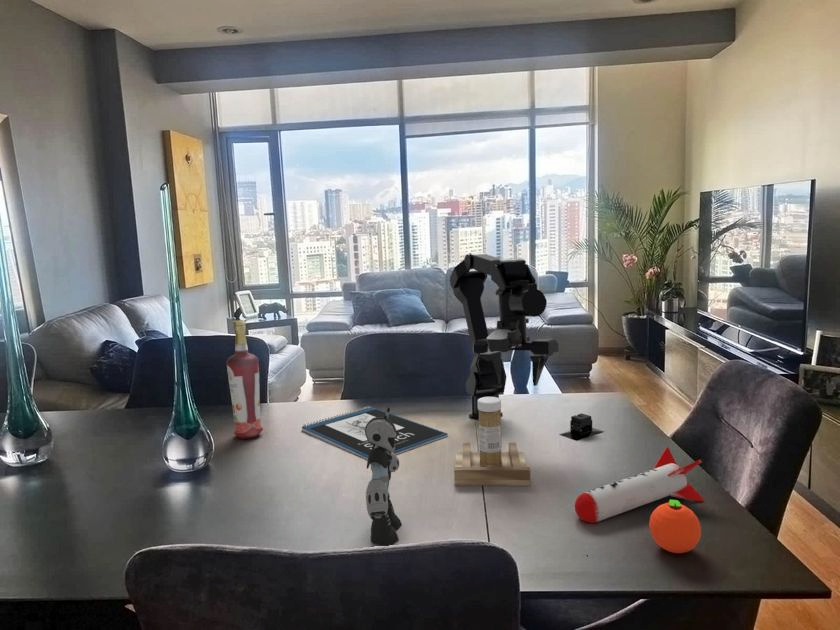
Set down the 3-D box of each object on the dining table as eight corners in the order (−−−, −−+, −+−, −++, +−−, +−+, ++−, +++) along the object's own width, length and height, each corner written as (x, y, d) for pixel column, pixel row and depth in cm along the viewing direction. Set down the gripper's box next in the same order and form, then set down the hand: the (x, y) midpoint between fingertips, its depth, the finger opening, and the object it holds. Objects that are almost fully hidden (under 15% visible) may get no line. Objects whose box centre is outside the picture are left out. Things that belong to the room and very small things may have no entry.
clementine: (646, 531, 91) (647, 488, 90) (695, 536, 89) (696, 492, 88) (650, 559, 83) (651, 512, 82) (704, 565, 81) (705, 517, 80)
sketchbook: (374, 466, 122) (373, 456, 122) (300, 432, 144) (299, 424, 144) (447, 438, 136) (447, 429, 136) (370, 411, 158) (369, 404, 158)
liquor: (269, 436, 140) (260, 321, 136) (239, 443, 136) (229, 324, 132) (257, 428, 146) (248, 318, 142) (228, 435, 142) (218, 321, 138)
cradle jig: (456, 456, 123) (455, 443, 123) (523, 456, 122) (523, 442, 122) (454, 485, 110) (454, 470, 109) (530, 485, 108) (530, 469, 108)
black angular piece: (587, 426, 141) (587, 407, 140) (612, 434, 135) (612, 414, 134) (550, 437, 134) (550, 417, 134) (575, 446, 128) (575, 425, 128)
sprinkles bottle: (501, 460, 118) (500, 395, 116) (502, 469, 114) (501, 402, 112) (478, 460, 118) (477, 396, 117) (479, 469, 114) (477, 402, 112)
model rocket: (550, 493, 101) (573, 467, 93) (653, 459, 110) (681, 433, 102) (582, 554, 95) (609, 532, 87) (689, 513, 104) (721, 489, 96)
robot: (378, 503, 103) (373, 394, 100) (406, 503, 103) (401, 393, 100) (360, 567, 84) (352, 433, 81) (394, 567, 84) (387, 432, 81)
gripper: (457, 318, 130) (462, 388, 131) (534, 317, 118) (538, 393, 119) (483, 314, 139) (487, 380, 139) (557, 313, 127) (561, 384, 128)
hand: (516, 384), depth 131 cm, fingers open, 9 cm apart
